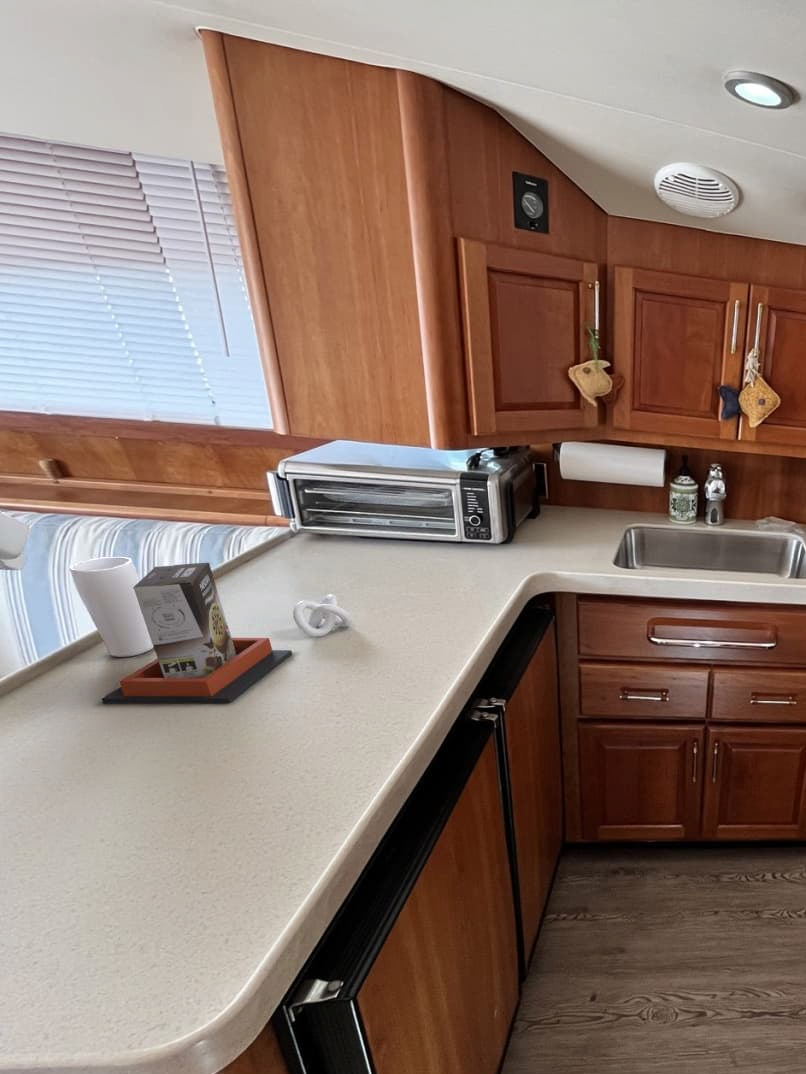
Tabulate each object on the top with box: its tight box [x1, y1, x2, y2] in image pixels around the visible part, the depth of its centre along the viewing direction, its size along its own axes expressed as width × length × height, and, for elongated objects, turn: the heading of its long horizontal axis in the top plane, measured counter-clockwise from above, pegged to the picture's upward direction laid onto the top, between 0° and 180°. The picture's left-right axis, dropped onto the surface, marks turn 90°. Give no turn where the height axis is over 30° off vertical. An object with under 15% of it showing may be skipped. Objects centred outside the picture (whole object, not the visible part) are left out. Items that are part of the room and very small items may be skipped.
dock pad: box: [100, 637, 293, 704], centre depth 96 cm, size 16×15×3 cm
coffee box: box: [133, 562, 236, 678], centre depth 94 cm, size 9×6×16 cm
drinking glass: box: [69, 556, 154, 658], centre depth 99 cm, size 7×7×15 cm
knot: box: [292, 593, 353, 638], centre depth 113 cm, size 8×8×6 cm
